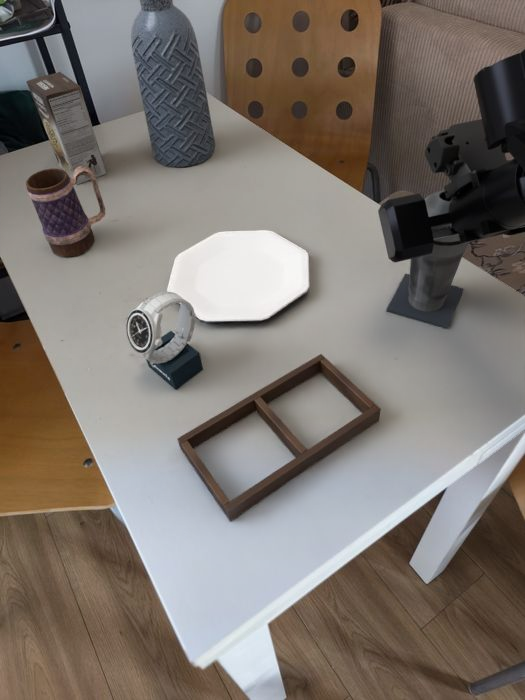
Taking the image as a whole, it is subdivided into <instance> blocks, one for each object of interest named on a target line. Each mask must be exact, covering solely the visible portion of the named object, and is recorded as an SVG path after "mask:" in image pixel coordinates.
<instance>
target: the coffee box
mask: <svg viewBox="0 0 525 700" xmlns="http://www.w3.org/2000/svg"><path fill="white" fill-rule="evenodd" d="M25 82H26V83H25V84H26V85H27V87H28V89H29V92H30V94H31V95H30V96H31V97H32V101H33V102H34V105H35V107H36V111H37V112H38V115H39V117H40V120H41V123H42V125H43V128H44V130H45V133H46V135H47V138H48V141H49V143H50V146H51V148H52V151H53V153H54V156H55V159H56V161H57V164H58V166H59V169H62V170H64V171H66V173H67V174H68V176H69V177H70V179H72V178H73V175H74V170H75V169H76V168H77V167H80V166H82V165H83V166H86V167H89V168H90V169H91V170H92V172H93V173H94V174H95V175H96V178H99V177H102V176H104V175H107V169H106V166H105V164H104V160H103V158H102V157H103V156H102V153H101V150H100V148H99V143H98V140H97V138H96V133H95V131H94V127H93V124H92V121H91V117H90V115H89V111H88V108H87V105H86V101H85V98H84V94H83V92H82V89H81V86H80V85H79V84H78V83H77V82H75V81H73V80H72V79H71V78H69V77H68V76H66V75H65V74H64V73H62V72H61V71H58V72H55V73H51V74H46V75H42V76H38V77H35V78H31V79H29V80H27V81H25ZM88 181H92V180H91V179H90V178H89V177H88V176H85V175H80V176H79V177H78V179H77V183H76V184H75V185H81V184H83V183H86V182H88Z"/></svg>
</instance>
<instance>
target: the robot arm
mask: <svg viewBox="0 0 525 700" xmlns="http://www.w3.org/2000/svg"><path fill="white" fill-rule="evenodd" d="M473 84H474V89H475V94H476V98H477V99H476V100H477V104H478V108H479V113H480V117H481V118H480V119H474V120H470V121H469V120H468V121H465V122H459V123H455V124H452V125H450V126H449V127H448V128H447V129H443V130H439V132H438V134H437V135H433V136H432V137H431V139H430V140H429V142H428V144H427V146H426V148H425V151H424V156H425V159H426V161H427V162H428V165H429V168H430V170H431V172H432V173H433V174H439V173H443V174H444V175H445V176H446V177H448V180H450V182H449V183H448V184H445V185H444V186H443V188H444V189H443V190H445V194H446V198H447V199H449V198H451V202H450V205H449V213H445V214H440V215H436V216H431V217H429V216H428V211H427V207H426V202H425V198H424V197H423V196H422V194H420V193H413V194H408V195H405V196H400V197H394V198H390V199H387V200H386V201H385V202H383V203H382V204H381V205H380V207H379V208H378V210H377V213H378V217H379V222H380V226H381V231H382V235H383V239H384V244H385V248H386V249H385V250H386V253H387V258H388V259H389V260H390V261H391V262H392V263H400V262H404V261H407V260H409V261H410V260H411V259H413V258H417V257H421V256H425V255H428V254H431V253H432V251H433V247H434V240H435V239H439V238H444V237H448V236H453V235H457V234H459V238H460V243H461V244H463V243H467V242H470V243H471V242H475V241H479V240H484V239H489V238H493V237H497V236H502V235H505V236H515V235H518V234H519V235H520V234H525V48H524V49H523V50H522V51H520V52H517V53H515V54H512V55H510V56H508V57H505V58H502V59H501V60H499V61H497V62H495V63H493V64H491V65H488V66H485V67H483V68H481V69H480V70H478V72H477V73H475V75H474V77H473ZM508 153H509V154H510V155H511V157H512V159H510V160H509V161H508V159H507V157H506V154H508ZM447 224H452V226H451V227H450V226H448V227H447V228H446V227H444V229H443V228H440V229H439V228H438V229H437V230H436V229H434V230H433V231H432V230H431V228H434V227H438V226H443V225H447Z"/></svg>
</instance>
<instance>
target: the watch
mask: <svg viewBox="0 0 525 700" xmlns="http://www.w3.org/2000/svg"><path fill="white" fill-rule="evenodd" d="M179 303H181V304H179ZM175 304H179V305H180V308H179V309H178V317H177V321H176V326H175V329H174V331H172V330H170V331H168V332H167V333H165V334H164V335H163V334H162V325H161V323H162V320H163V319H162V317H163V313H162V311H163V310H164V309H166V308H168V307H169V306H171V305H175ZM196 318H197V317H196V314H195V313H194V309H193V306H192V305H191V304H190V303H189V302H187V301H186V300H185V299H183V298H182V297H180V296H179V295H177V294H176V293H173V292H167V291H161V292H158V293H156V294H153V295H152V296H151V297H149V298H147V299H146V300H143V301H142V302H141V303H140V304H139V305H137V307H136V308H135V309H133V310H131V311H130V313H129V314H128V316H127V318H126V322H125V323H126V324H125V332H126V337H127V340H128V343H129V345H130V346H131V347H132V349H133V350H134V352H136V353H138V354H140V355H141V356H142V357H143V358H144V359H145V361H146V363H147V365H148V367H149V369H150V370H151V371H152V372H154V373H155V374H156V375H158V376H159V377H160V378H161V379H162V380H163V381H164V382H166V384H168V385H169V386H170V387H171V388H172V389H174V390H175V391H177V390H179V389H180V388H181V387H183V386H184V385H186V383H188V382H189V381H191V380H192V379H193V378H195V377H196V376H197V375H198V374H200V373H201V372H202V371H204V366H203V362H202V357H201V353H200V352H199V351H198V350H197V349H195V348H194V347H193V346H192V345H190V344H189V343H188V342H191V339H192V336H193V333H194V329H195V325H196Z"/></svg>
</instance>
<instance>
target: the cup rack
mask: <svg viewBox="0 0 525 700" xmlns="http://www.w3.org/2000/svg"><path fill="white" fill-rule="evenodd" d="M319 373H320V374H321V375H322V376H323V377H324V378H325V379H326V380H327V381H328V382H329V383H331V385H333V387H335V388H336V390H338V391H339V392H340V394H342V395H343V396H344V397H345V398H346V399H347V401H349V402H350V403H351V404H352V405H353V406H354V407H355V408H356V409H357V410H359V412H361V414H359V415H358V416H356V417H355V418H353V419H352V420H350V421H349V422H347V423H346V424H344V425H343V426H341V427H340V428H339V429H337V430H335V431H333V432H332V433H331V434H329V435H328V436H325V438H324V439H322V440H320V441H319V442H317V443H316V444H314V445H313V446H311V447H309V448H308V449H307V448H306V446H305V445H304V444H303V443H302V442H301V441H300V440H299V439H298V437H297V436H296V435H295V434H294V433H293V432H292V431H291V430H290V429H289V427H288V426H287V425H286V424H285V422H283V421H282V420H281V418H280V417H279V416H278V415H277V414H276V412H274V410H273V409H271V407H270V406H269V405H268V404H270V403H271V402H273V401H275V400H276V399H278V398H280V397H281V396H283V395H285V394H286V393H288V392H290V391H291V390H293V389H295V388H296V387H298V386H299V385H302V383H305V382H306V381H308V380H309V379H311V378H313V377H314V376H316V375H318V374H319ZM381 411H382V409H381V408H380V406H378V405H377V404H376V403H375V402H374V401H373V400H372V399H371V398H370V397H368V396H367V395H366V393H364V392H363V391H362V390H361V389H360V388H359V387H358V386H357V385H356V384H355V383H354V382H352V381H351V380H350V379H349V378H348V377H347V376H346V375H345V374H344V373H343V372H342V371H340V370H339V368H337V367H336V365H334V364H333V363H332V362H331V361H330V360H329V359H328V358H326V356H325V355H323V353H320V354H318V355H317V356H315V357H313V358H312V359H310V360H308V361H306V362H305V363H303V364H301V365H300V366H298V367H296V368H294V369H293V370H291V371H289V372H287V373H285V374H284V375H282V376H281V377H279V378H277V379H275V380H274V381H272V382H271V383H269V384H267V385H265V386H264V387H262V388H261V389H259V390H257V391H256V392H254V393H252V394H250V395H249V396H247V397H245V398H244V399H242V400H240V401H238V402H237V403H235V404H233V405H232V406H230V407H228V408H227V409H224V410H223V411H222V412H220V413H217V415H215V416H213V417H211V418H210V419H208V420H206V421H204V422H202V423H201V424H199V425H198V426H196V427H195V428H193V429H191V430H189V431H187V432H186V433H184V434H183V435H181V436H179V437H177V443H178V446H179V448H180V451H181V452H182V454H183V455H184V457H185V458H186V460H187V461H188V463H189V464H190V465H191V467H192V468H193V470H194V471H195V473H196V475H198V477H199V479H200V480H201V481H202V483H203V484H204V486H205V487H206V488H207V490H208V491H209V493H210V494H211V496H212V497H213V499H214V500H215V502H216V503H217V505H218V506H219V508H220V509H221V511H222V513H223V514H224V515H225V516H226V518H227V520H228V521H229V522H232V521H233V520H234V519H237V518H238V517H240V516H241V515H242V514H244V513H245V512H247V511H248V510H250V509H251V508H253V507H254V506H255V505H257V504H258V503H260V502H261V501H263V500H264V499H265V498H267V497H269V496H270V495H272V494H273V493H275V492H276V491H278V490H279V489H280V488H282V487H283V486H285V485H287V484H288V483H289V482H291V481H292V480H293V479H295V478H297V477H298V476H299V475H301V474H303V473H304V472H306V471H307V470H308V469H310V468H312V467H313V466H314V465H316V464H317V463H319V462H320V461H322V460H323V459H324V458H326V457H327V456H329V455H331V454H332V453H333V452H335V451H336V450H338V449H339V448H341V447H342V446H344V445H346V444H347V443H348V442H350V441H351V440H353V439H354V438H355V437H357V436H359V435H360V434H361V433H363V432H365V431H366V430H367V429H369V428H370V427H372V426H373V425H374V424H376V423H377V422H379V421H380V416H381ZM255 412H256V414H258V416H259V417H260V418H261V420H263V421H264V423H265V424H266V425H267V426H268V427H269V429H270V430H271V431H272V432H273V433H274V434H275V435H276V436H277V438H278V439H279V440H280V441H281V442H282V443H283V444H284V446H285V447H286V448H287V449H288V450H289V452H290V453H291V454H292V455H293V456H294V457H295V458H293V459H292V460H290V461H288V462H287V463H286V464H284V465H283V466H281V467H279V468H278V469H276V470H275V471H274V472H272V473H270V474H269V475H267V476H266V477H265V478H263V479H261V480H260V481H259V482H257V483H255V484H254V485H253V486H251V487H249V488H248V489H247V490H245V491H244V492H242V493H240V494H239V495H237V496H236V497H234V498H232V499H231V500H230V499H229V497H228V495H227V494H226V493H225V492H224V490H223V489H222V487H221V486H220V485H219V483H218V482H217V480H216V478H215V477H214V476H213V474H212V473H211V472H210V470H209V469H208V468H207V466H206V464H205V463H204V462H203V460H202V459H201V458H200V456H199V455H198V453H197V452H196V450H195V448H197V447H198V446H201V445H202V444H204V443H205V442H207V441H209V440H210V439H212V438H213V437H215V436H217V435H218V434H220V433H222V432H224V431H226V430H227V429H228V428H231V427H232V426H234V425H235V424H237V423H238V422H240V421H242V420H243V419H245V418H247V417H248V416H250V415H252V414H253V413H255Z"/></svg>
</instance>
